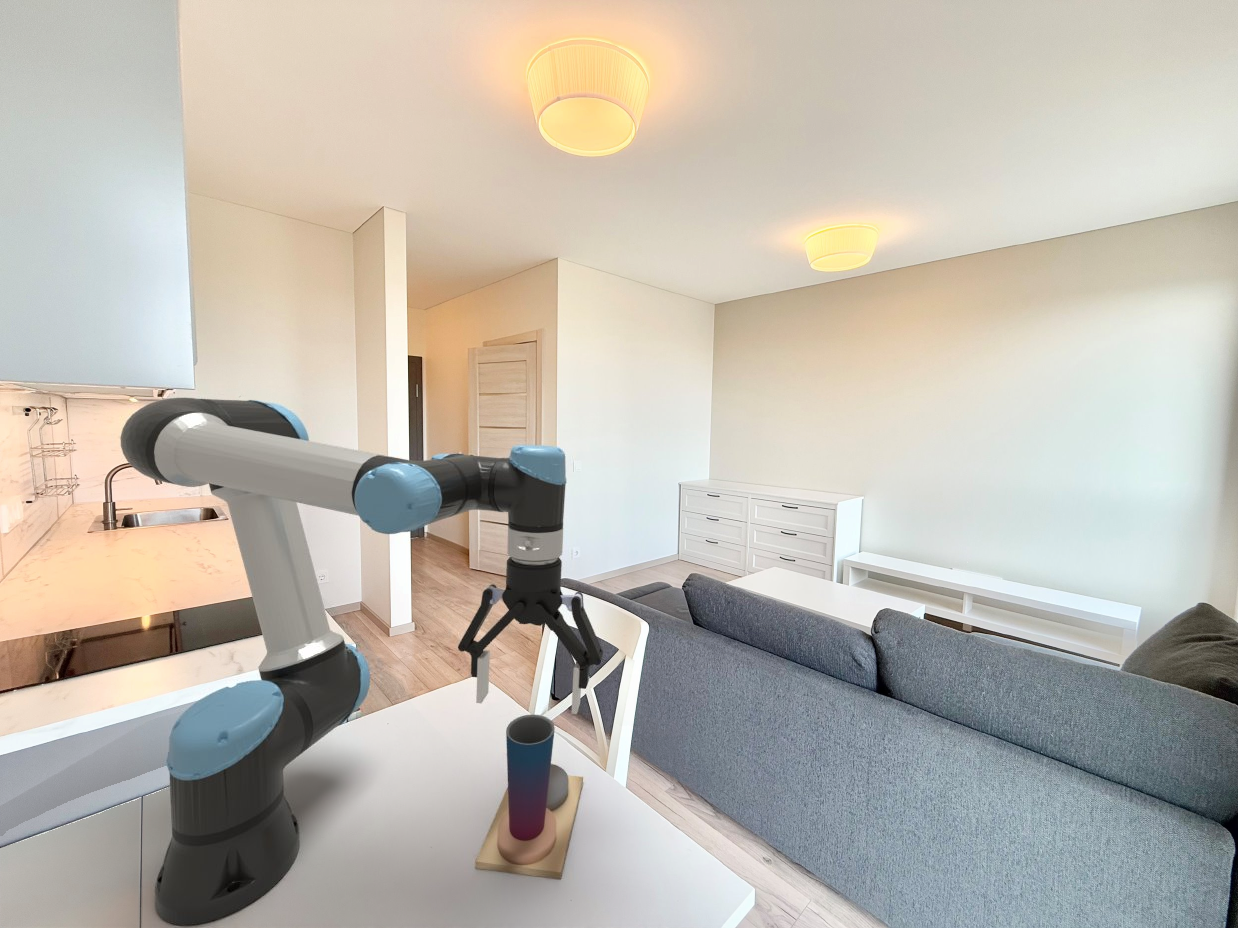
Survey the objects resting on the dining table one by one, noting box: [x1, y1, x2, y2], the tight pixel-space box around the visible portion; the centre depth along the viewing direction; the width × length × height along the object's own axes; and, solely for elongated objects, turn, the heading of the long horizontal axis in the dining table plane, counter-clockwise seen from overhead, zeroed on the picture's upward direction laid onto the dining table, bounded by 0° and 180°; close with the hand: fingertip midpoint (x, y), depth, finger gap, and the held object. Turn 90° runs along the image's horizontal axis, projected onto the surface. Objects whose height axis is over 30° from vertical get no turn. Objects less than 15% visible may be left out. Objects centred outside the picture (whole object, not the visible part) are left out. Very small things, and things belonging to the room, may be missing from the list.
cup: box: [505, 714, 556, 841], centre depth 70 cm, size 7×7×15 cm
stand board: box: [474, 763, 584, 880], centre depth 76 cm, size 12×18×3 cm, turn 175°
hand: (528, 703), depth 69 cm, fingers open, 13 cm apart
